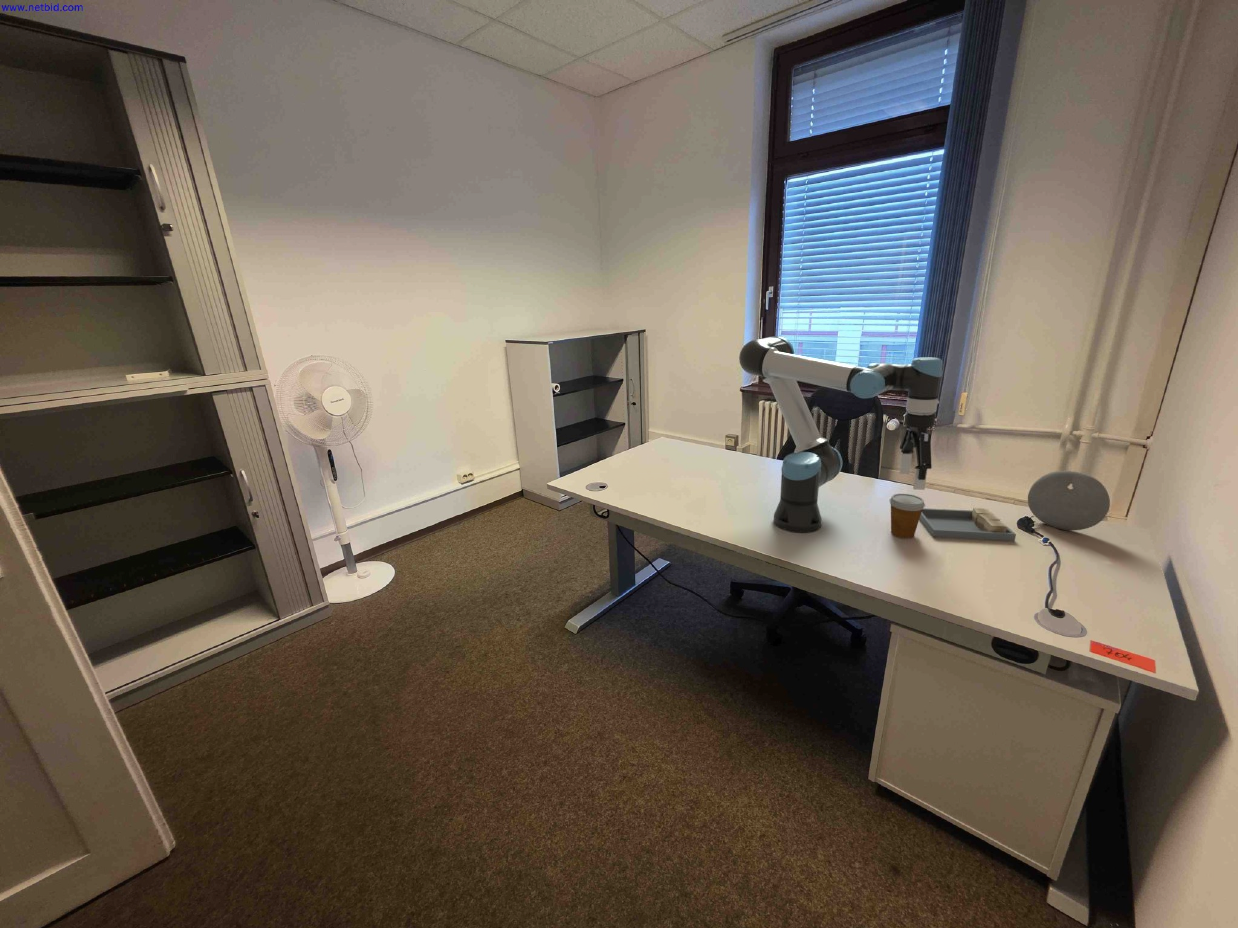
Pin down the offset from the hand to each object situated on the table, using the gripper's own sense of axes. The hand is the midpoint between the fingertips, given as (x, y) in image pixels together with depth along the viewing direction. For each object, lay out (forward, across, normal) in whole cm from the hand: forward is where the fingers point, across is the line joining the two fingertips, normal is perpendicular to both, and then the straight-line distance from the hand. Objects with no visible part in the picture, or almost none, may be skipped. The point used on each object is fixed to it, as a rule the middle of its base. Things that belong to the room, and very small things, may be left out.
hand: (911, 481), depth 148 cm
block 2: (+17, +6, -25) cm, 31 cm away
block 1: (+17, +11, -25) cm, 32 cm away
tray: (+18, +6, -18) cm, 26 cm away
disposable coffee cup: (+18, 0, 0) cm, 18 cm away
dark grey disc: (+18, +10, -47) cm, 51 cm away
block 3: (+17, +2, -25) cm, 31 cm away
